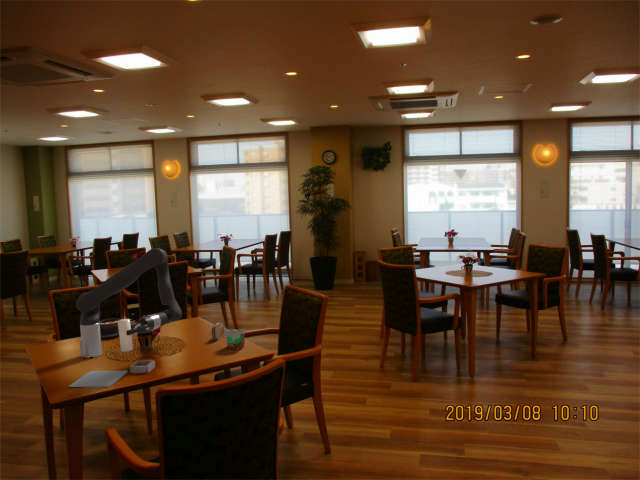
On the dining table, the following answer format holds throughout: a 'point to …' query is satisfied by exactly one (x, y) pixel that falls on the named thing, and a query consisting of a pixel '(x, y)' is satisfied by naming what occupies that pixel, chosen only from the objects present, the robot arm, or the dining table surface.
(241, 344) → the food container
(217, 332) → the tin
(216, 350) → the dining table surface
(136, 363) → the cup holder
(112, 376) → the mat
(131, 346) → the cream tall cylinder
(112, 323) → the casserole
